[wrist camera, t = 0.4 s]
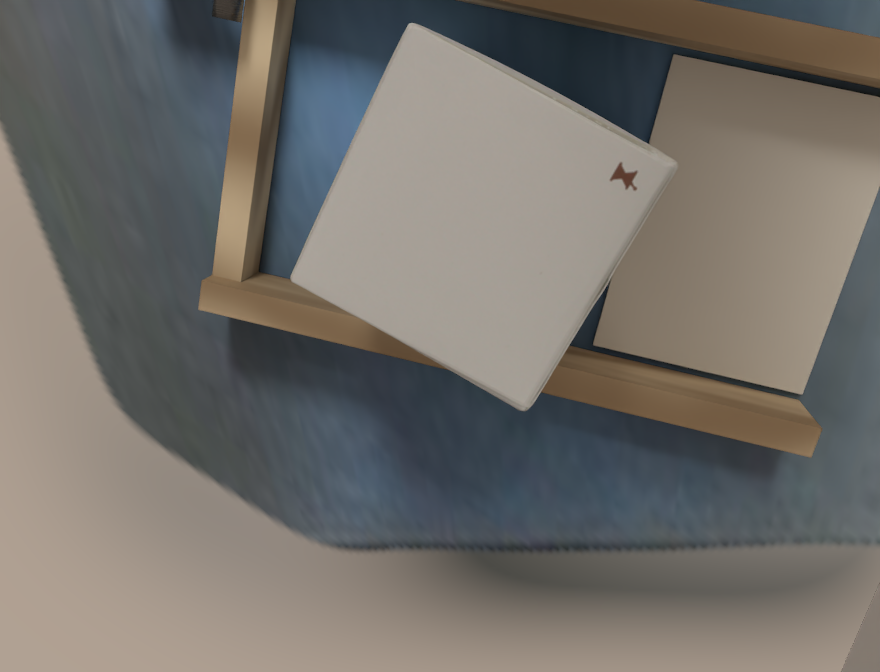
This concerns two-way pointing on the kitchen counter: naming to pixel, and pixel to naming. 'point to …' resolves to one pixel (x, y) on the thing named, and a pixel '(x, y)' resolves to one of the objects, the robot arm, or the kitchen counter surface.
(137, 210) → the kitchen counter surface
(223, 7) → the winch
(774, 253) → the front mat
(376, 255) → the supplement box
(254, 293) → the bay
